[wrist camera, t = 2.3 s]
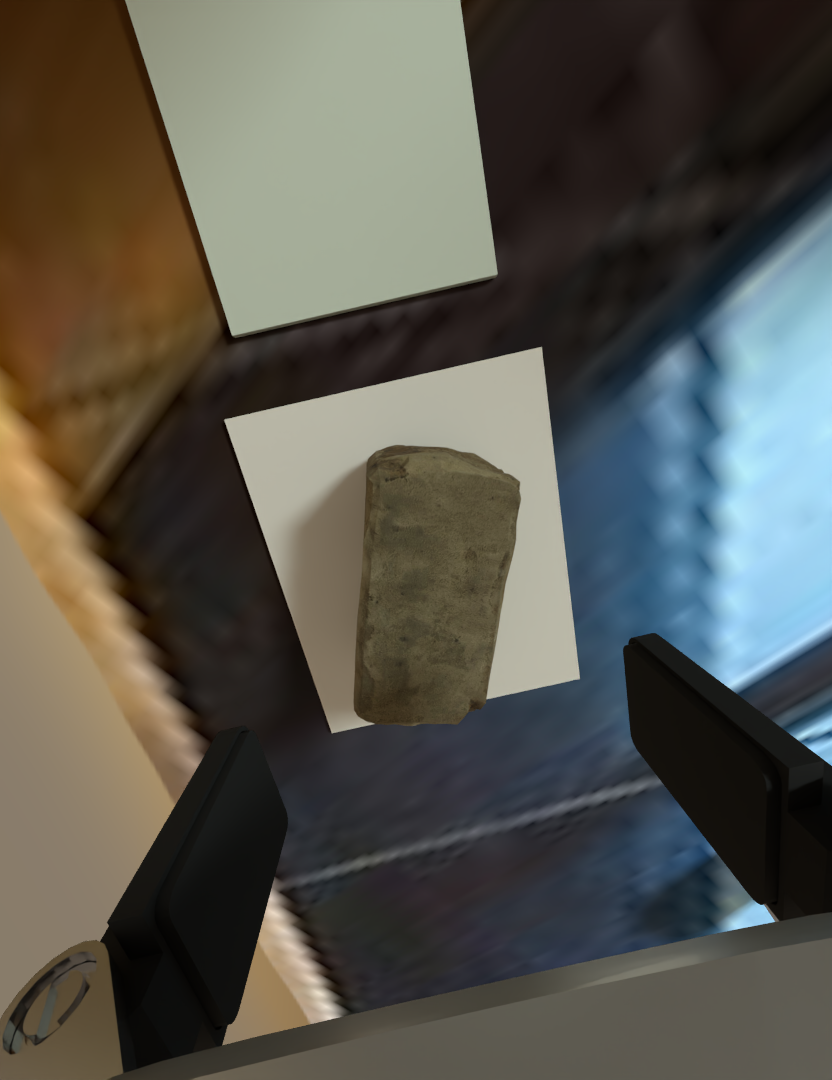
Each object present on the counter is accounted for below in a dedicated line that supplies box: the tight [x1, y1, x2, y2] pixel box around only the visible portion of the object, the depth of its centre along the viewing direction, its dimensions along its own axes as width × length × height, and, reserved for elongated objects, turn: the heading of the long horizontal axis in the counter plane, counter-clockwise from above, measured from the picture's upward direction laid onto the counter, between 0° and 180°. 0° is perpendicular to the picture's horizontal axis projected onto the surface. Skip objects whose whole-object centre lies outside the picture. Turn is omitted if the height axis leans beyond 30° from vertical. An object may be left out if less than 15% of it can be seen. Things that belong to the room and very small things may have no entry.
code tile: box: [224, 347, 580, 733], centre depth 20 cm, size 17×14×1 cm
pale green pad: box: [125, 0, 498, 338], centre depth 14 cm, size 14×11×1 cm
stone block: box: [353, 445, 521, 726], centre depth 17 cm, size 6×12×5 cm, turn 176°
